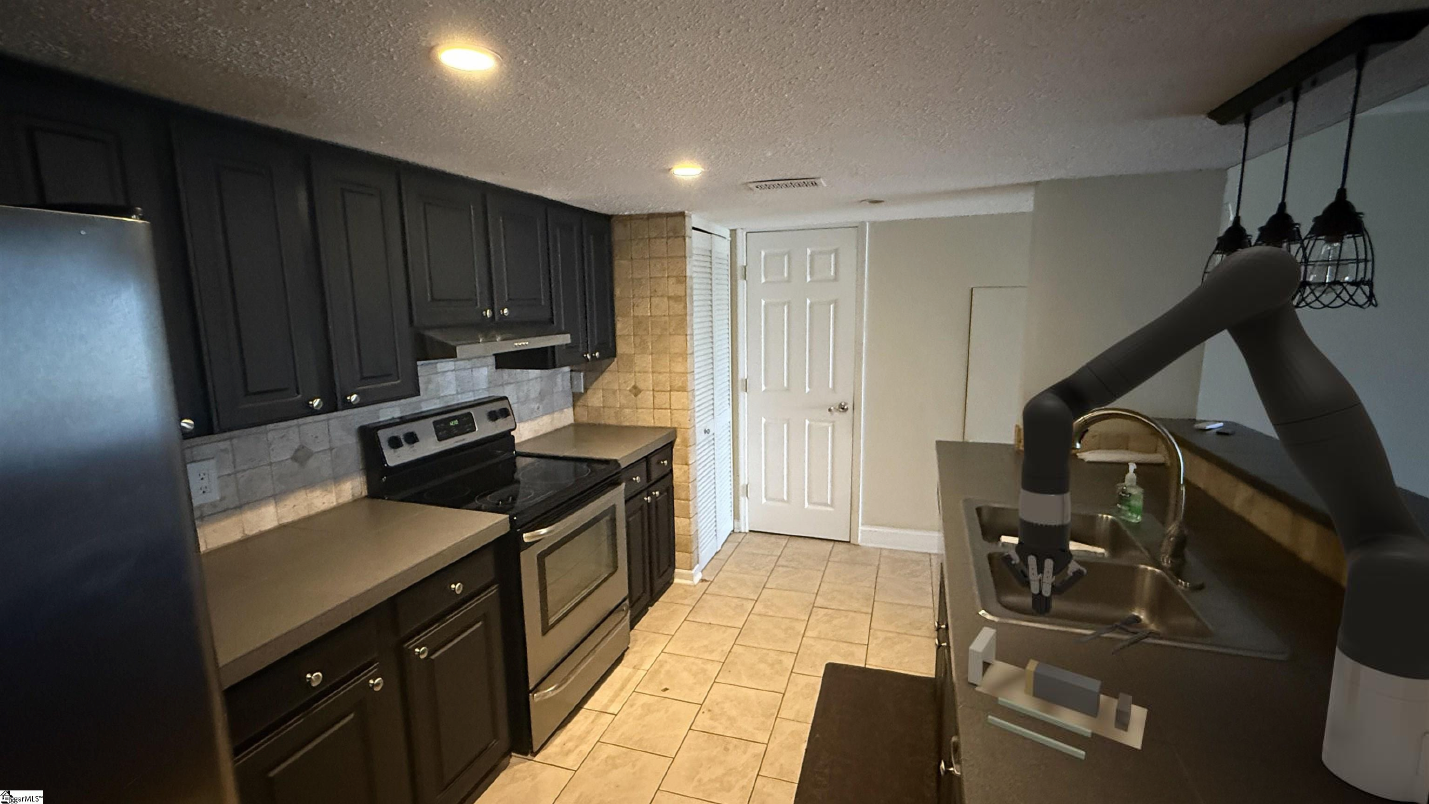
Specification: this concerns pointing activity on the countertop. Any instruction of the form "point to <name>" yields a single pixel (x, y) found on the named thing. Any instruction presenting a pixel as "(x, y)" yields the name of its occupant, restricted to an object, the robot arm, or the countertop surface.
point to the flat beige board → (1111, 720)
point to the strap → (981, 654)
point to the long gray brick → (1063, 688)
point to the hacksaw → (1123, 625)
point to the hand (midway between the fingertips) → (1041, 613)
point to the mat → (1036, 736)
